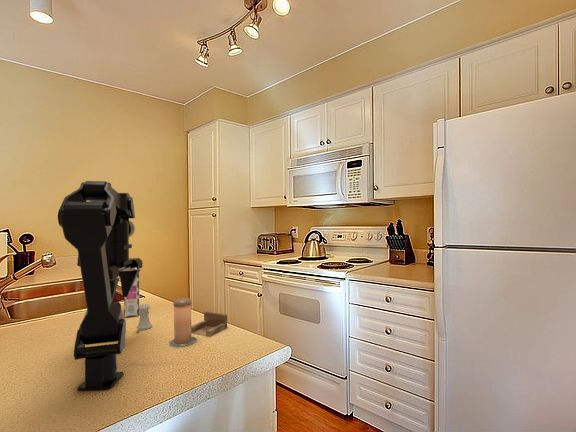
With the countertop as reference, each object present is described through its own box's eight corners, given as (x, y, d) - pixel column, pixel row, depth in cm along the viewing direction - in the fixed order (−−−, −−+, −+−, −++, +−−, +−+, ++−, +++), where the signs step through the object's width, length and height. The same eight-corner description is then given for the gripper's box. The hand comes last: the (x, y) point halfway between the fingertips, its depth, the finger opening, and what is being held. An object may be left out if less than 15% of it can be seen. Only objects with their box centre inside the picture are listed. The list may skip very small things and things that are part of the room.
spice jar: (189, 344, 85) (188, 302, 85) (171, 344, 84) (171, 302, 85) (193, 337, 89) (193, 297, 89) (176, 338, 89) (176, 298, 89)
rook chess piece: (146, 334, 96) (146, 307, 96) (133, 333, 97) (132, 306, 97) (155, 329, 100) (155, 303, 100) (142, 328, 101) (142, 302, 101)
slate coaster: (193, 350, 84) (193, 345, 84) (165, 351, 83) (165, 346, 83) (199, 340, 91) (199, 335, 91) (173, 341, 90) (173, 336, 90)
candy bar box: (139, 316, 114) (139, 269, 114) (123, 318, 112) (123, 270, 112) (139, 308, 124) (139, 265, 124) (125, 309, 122) (124, 266, 122)
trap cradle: (209, 340, 90) (209, 322, 90) (188, 335, 94) (187, 318, 94) (227, 331, 97) (227, 314, 97) (206, 327, 101) (206, 311, 101)
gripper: (103, 239, 93) (103, 293, 93) (60, 244, 74) (61, 312, 74) (142, 238, 93) (143, 292, 93) (110, 243, 75) (111, 311, 74)
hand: (117, 301), depth 84 cm, fingers open, 9 cm apart
